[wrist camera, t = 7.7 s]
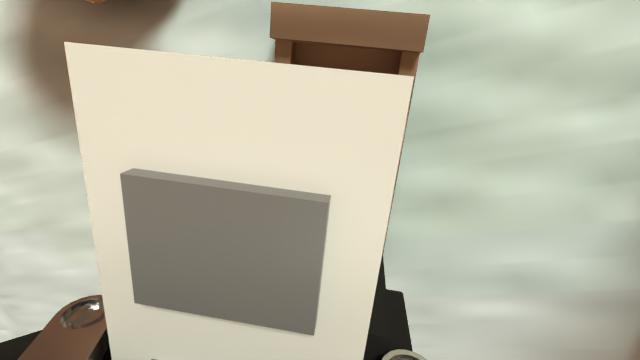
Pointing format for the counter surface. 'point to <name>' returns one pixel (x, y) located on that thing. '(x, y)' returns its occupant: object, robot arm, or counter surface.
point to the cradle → (349, 40)
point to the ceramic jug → (96, 1)
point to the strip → (235, 201)
